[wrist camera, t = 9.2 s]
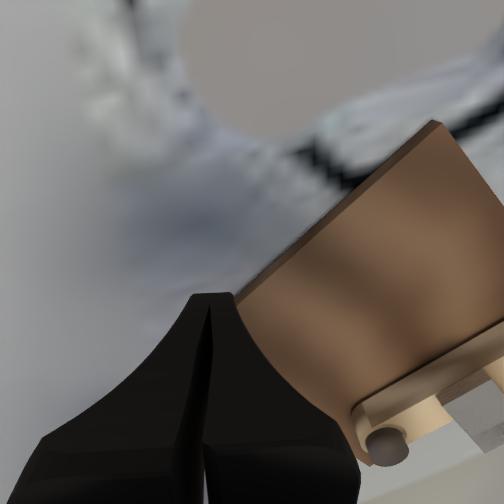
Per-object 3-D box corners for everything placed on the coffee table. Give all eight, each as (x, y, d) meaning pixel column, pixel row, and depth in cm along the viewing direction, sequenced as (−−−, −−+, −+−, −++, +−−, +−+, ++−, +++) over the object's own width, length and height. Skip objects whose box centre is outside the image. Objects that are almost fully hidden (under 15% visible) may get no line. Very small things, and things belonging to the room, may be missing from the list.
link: (365, 434, 27) (381, 475, 24) (343, 412, 26) (356, 454, 23) (565, 325, 23) (608, 360, 21) (549, 295, 22) (593, 327, 19)
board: (365, 454, 30) (369, 466, 29) (191, 336, 24) (189, 347, 23) (580, 318, 25) (593, 328, 24) (431, 119, 18) (442, 123, 17)
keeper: (454, 405, 27) (484, 453, 23) (413, 360, 24) (441, 406, 21) (493, 383, 26) (531, 430, 23) (455, 335, 24) (491, 378, 20)
